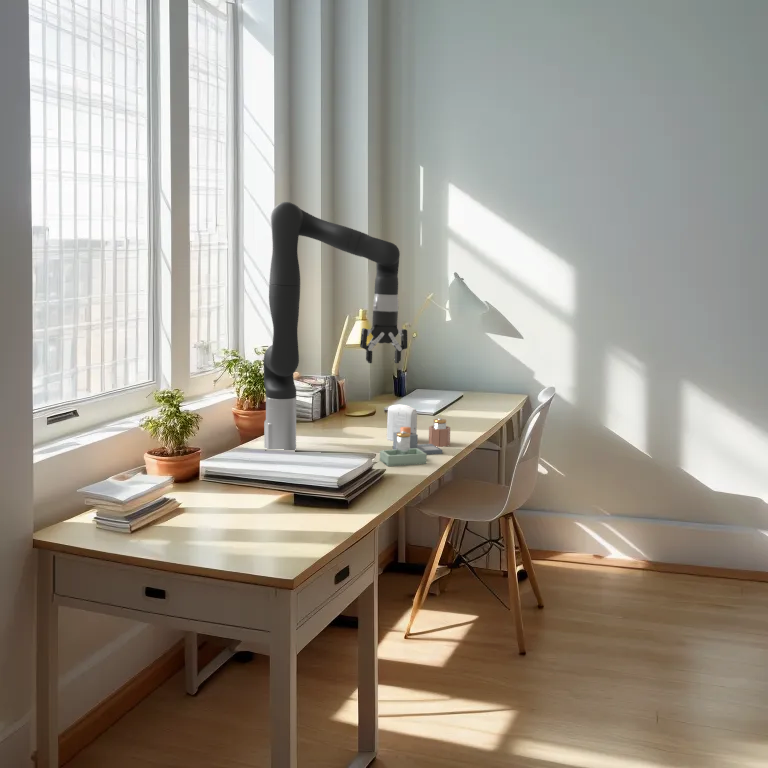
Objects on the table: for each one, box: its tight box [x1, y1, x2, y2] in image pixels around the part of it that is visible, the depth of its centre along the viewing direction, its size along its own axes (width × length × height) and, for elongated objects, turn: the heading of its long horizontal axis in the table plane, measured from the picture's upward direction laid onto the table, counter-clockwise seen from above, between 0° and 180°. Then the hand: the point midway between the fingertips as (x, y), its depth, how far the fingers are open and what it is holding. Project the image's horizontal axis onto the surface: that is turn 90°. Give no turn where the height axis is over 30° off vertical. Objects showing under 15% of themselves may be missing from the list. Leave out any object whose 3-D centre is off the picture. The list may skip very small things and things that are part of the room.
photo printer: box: [386, 403, 418, 442], centre depth 288 cm, size 10×4×12 cm, turn 57°
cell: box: [396, 431, 410, 455], centre depth 262 cm, size 4×4×8 cm
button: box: [400, 427, 411, 435], centre depth 274 cm, size 3×3×5 cm
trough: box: [379, 448, 428, 467], centre depth 262 cm, size 12×8×3 cm, turn 109°
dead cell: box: [433, 417, 447, 429], centre depth 284 cm, size 4×4×8 cm
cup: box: [428, 424, 451, 448], centre depth 285 cm, size 6×6×6 cm
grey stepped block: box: [392, 431, 443, 456], centre depth 274 cm, size 13×9×6 cm
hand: (383, 363), depth 268 cm, fingers open, 8 cm apart
